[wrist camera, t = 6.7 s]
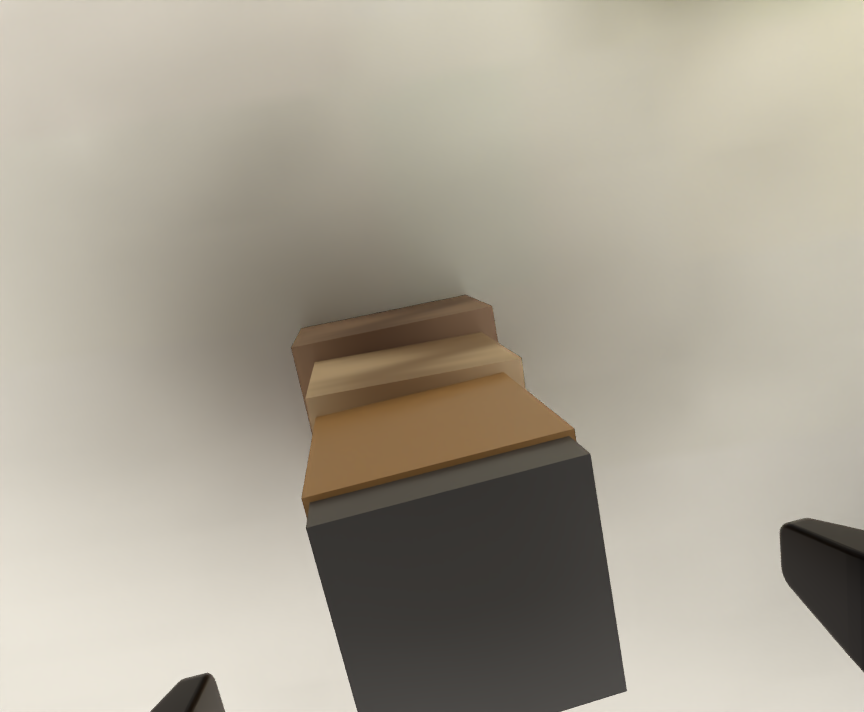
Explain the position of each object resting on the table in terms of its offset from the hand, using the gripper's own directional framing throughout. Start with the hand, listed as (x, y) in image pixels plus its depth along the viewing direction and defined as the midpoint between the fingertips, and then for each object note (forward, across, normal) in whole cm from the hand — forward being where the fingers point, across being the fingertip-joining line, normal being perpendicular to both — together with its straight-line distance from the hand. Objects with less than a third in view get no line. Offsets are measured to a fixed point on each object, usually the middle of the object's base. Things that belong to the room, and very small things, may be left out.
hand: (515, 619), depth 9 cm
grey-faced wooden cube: (+5, +1, 0) cm, 5 cm away
